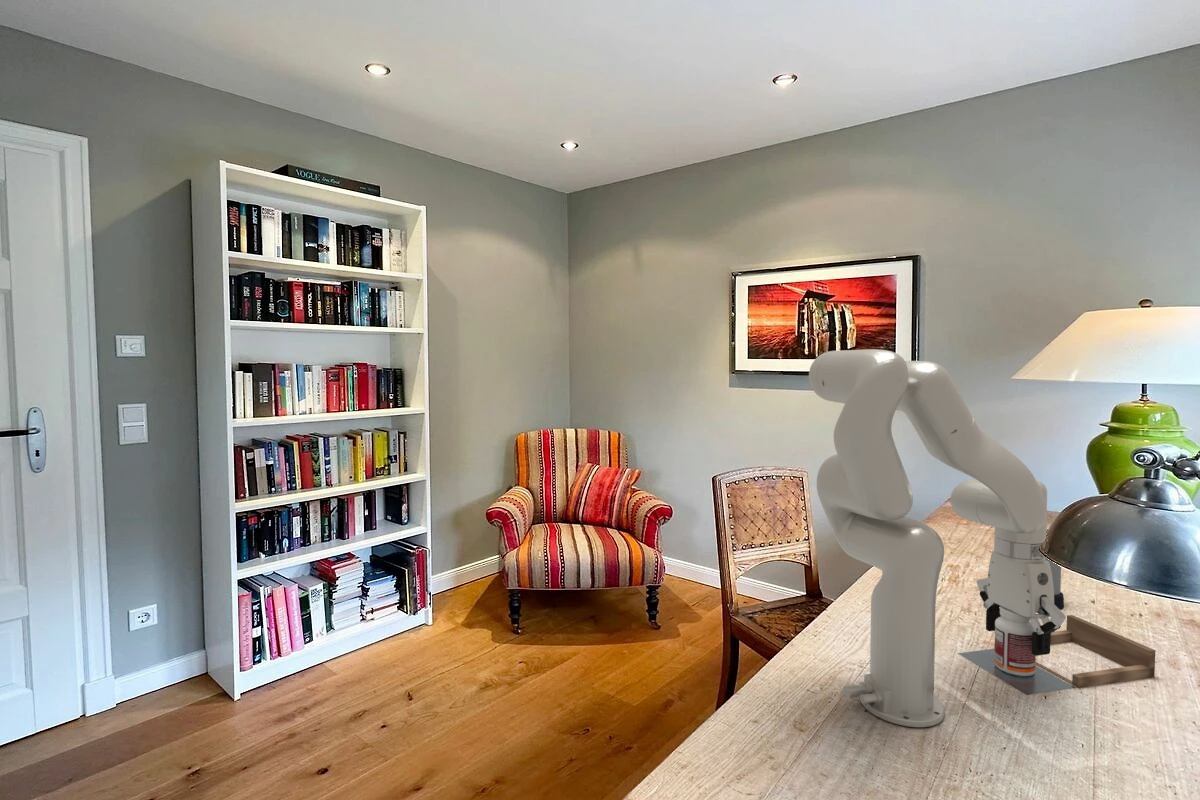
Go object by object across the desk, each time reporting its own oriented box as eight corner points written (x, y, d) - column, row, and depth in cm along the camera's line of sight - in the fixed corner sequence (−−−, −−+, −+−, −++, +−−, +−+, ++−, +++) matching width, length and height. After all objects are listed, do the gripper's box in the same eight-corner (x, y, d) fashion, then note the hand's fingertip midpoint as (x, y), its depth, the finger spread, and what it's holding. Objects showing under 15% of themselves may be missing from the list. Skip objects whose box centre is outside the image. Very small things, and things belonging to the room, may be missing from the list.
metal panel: (1075, 694, 105) (1026, 701, 103) (1002, 653, 119) (957, 659, 118) (1076, 687, 105) (1026, 694, 103) (1002, 647, 119) (957, 653, 117)
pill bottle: (1041, 671, 110) (1043, 611, 110) (1025, 681, 107) (1027, 619, 106) (1003, 657, 116) (1005, 599, 115) (987, 666, 112) (988, 607, 112)
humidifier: (1025, 607, 141) (1029, 499, 139) (1016, 594, 149) (1019, 492, 147) (1069, 612, 138) (1072, 502, 136) (1057, 599, 146) (1060, 494, 144)
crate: (1078, 694, 105) (1079, 660, 104) (1002, 652, 120) (1003, 622, 119) (1154, 683, 108) (1155, 650, 107) (1070, 644, 123) (1071, 614, 122)
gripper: (1083, 562, 102) (1079, 662, 103) (997, 533, 119) (994, 619, 120) (1045, 565, 101) (1042, 667, 102) (963, 536, 117) (961, 623, 119)
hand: (1016, 641), depth 111 cm, fingers open, 9 cm apart
